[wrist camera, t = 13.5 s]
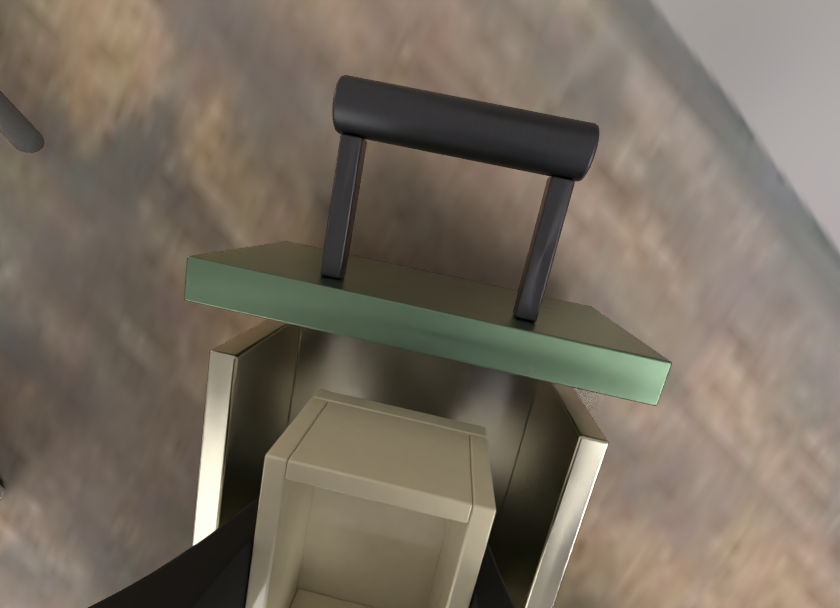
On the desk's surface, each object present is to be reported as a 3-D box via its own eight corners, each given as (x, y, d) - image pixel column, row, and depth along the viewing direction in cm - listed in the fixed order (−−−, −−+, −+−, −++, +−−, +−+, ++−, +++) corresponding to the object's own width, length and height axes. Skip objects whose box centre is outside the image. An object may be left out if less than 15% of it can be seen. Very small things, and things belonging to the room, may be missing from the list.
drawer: (303, 104, 16) (202, 31, 9) (634, 169, 15) (754, 138, 9) (245, 555, 20) (152, 704, 14) (496, 619, 20) (513, 802, 13)
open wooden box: (486, 426, 12) (497, 510, 9) (435, 617, 14) (428, 753, 10) (319, 387, 12) (264, 454, 9) (288, 580, 14) (231, 700, 10)
